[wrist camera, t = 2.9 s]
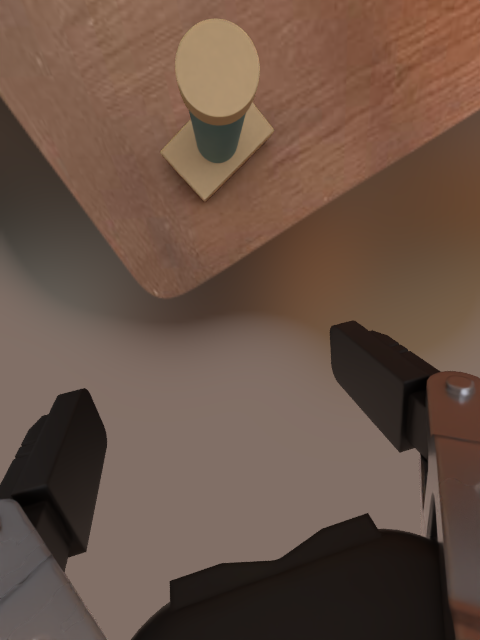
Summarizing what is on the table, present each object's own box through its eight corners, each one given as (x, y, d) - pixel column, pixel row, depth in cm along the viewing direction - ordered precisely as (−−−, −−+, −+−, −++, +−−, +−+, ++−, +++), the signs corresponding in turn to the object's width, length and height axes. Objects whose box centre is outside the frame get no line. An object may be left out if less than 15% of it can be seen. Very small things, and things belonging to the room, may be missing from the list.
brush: (205, 204, 28) (195, 180, 14) (165, 160, 27) (112, 88, 13) (268, 140, 27) (322, 49, 13) (229, 92, 26) (244, -61, 12)
